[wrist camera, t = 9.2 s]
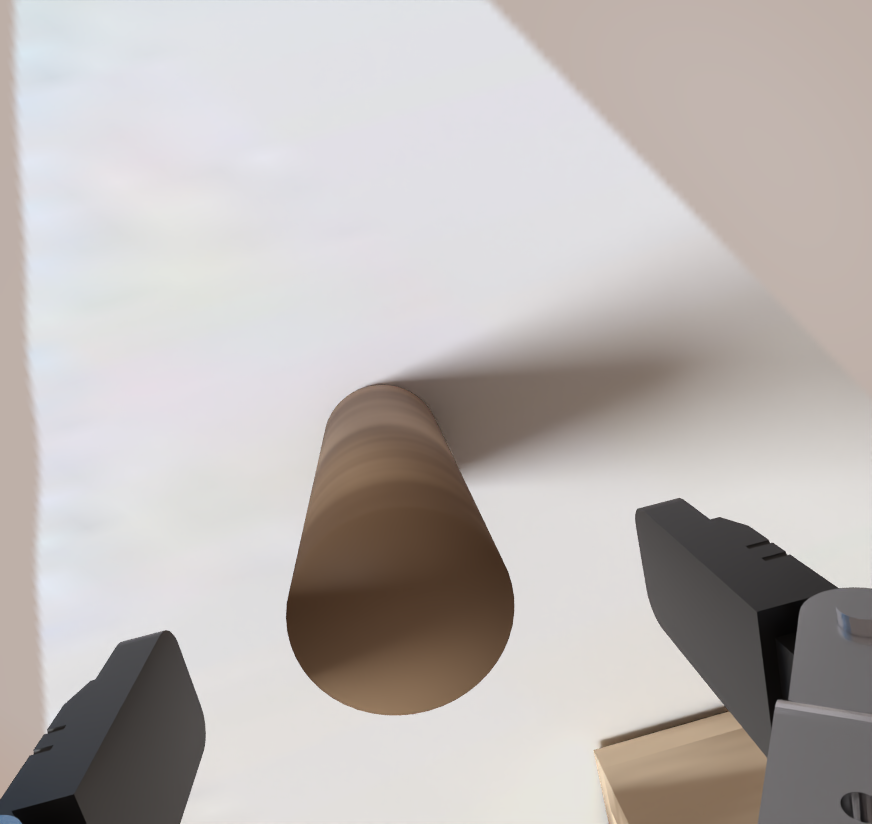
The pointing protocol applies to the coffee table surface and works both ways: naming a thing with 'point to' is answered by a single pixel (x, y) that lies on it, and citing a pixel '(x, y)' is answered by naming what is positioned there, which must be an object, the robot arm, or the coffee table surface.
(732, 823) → the socket block
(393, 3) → the coffee table surface
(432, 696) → the dowel
